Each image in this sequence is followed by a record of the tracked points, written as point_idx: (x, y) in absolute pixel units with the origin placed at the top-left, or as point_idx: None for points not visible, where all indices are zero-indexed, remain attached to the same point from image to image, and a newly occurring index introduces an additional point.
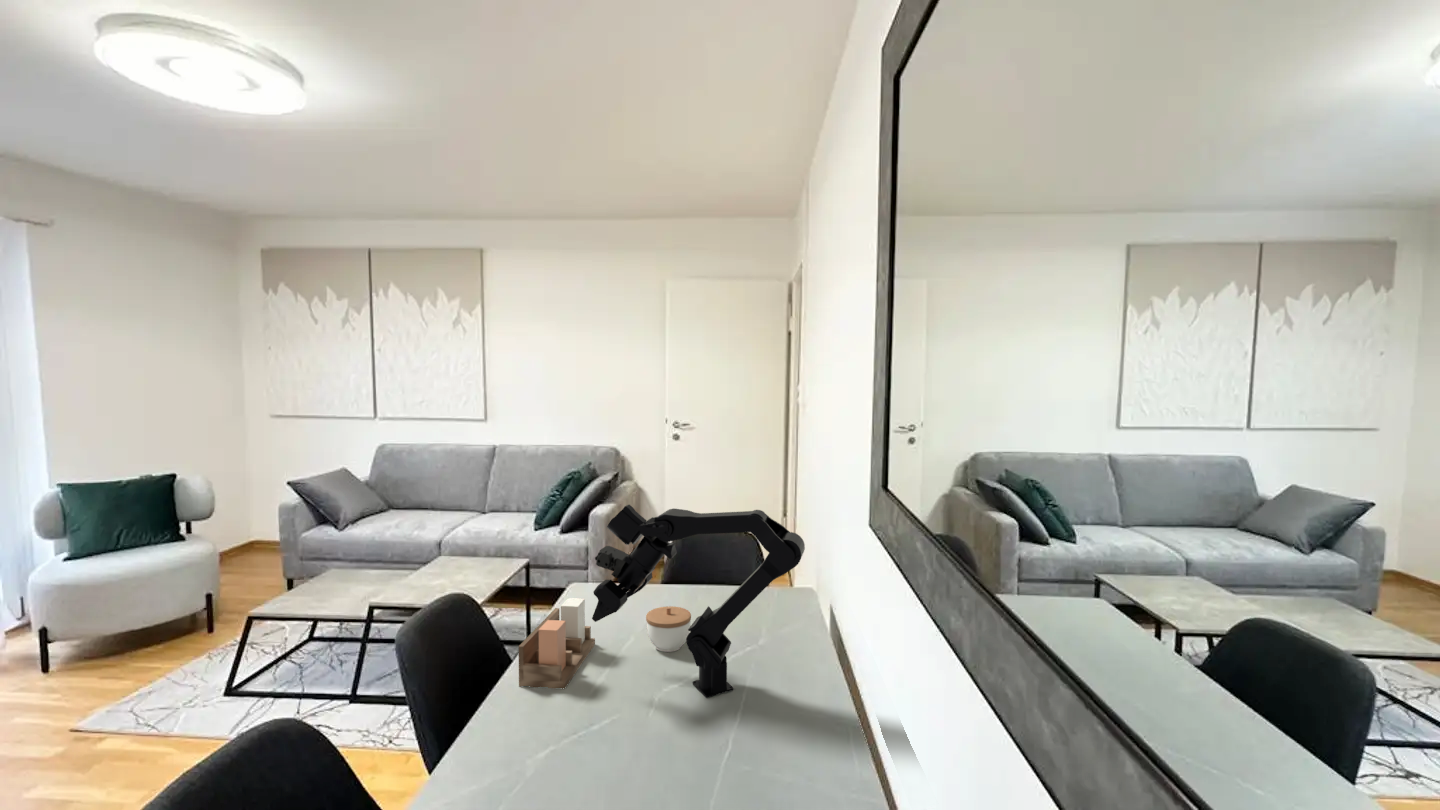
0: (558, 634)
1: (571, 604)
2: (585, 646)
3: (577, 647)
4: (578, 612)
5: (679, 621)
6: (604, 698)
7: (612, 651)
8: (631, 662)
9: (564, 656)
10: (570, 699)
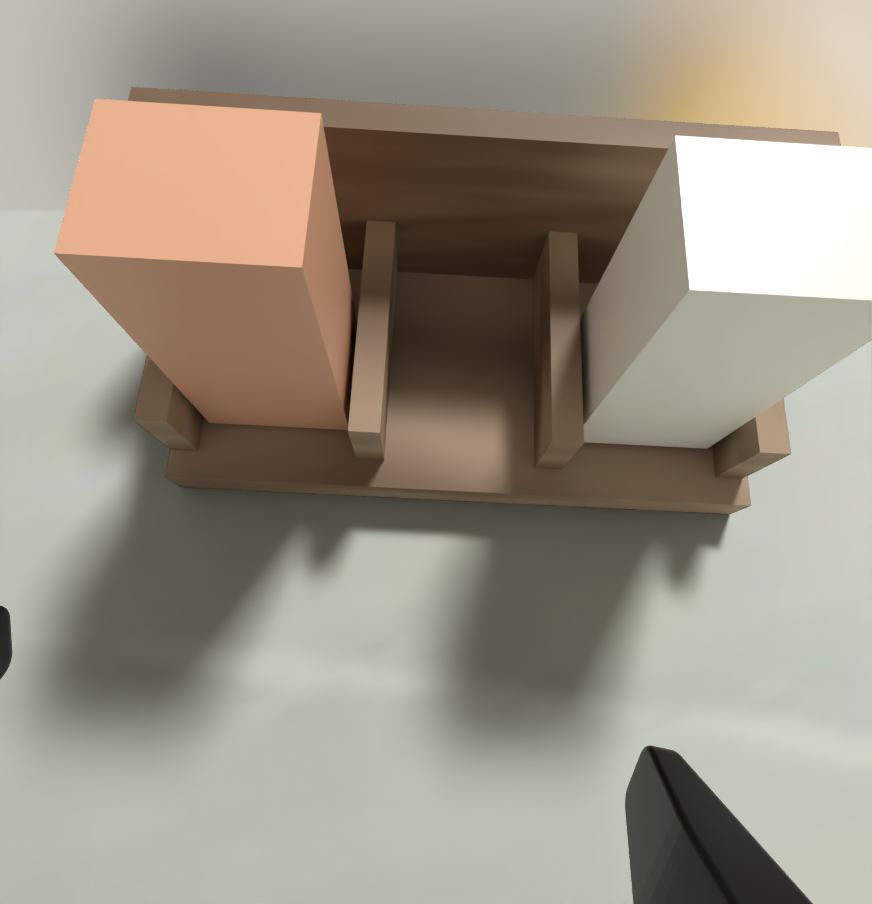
0: (120, 288)
1: (734, 217)
2: (626, 475)
3: (540, 439)
4: (680, 328)
5: None
6: (54, 755)
7: (659, 652)
8: (523, 831)
9: (317, 403)
10: (65, 551)
